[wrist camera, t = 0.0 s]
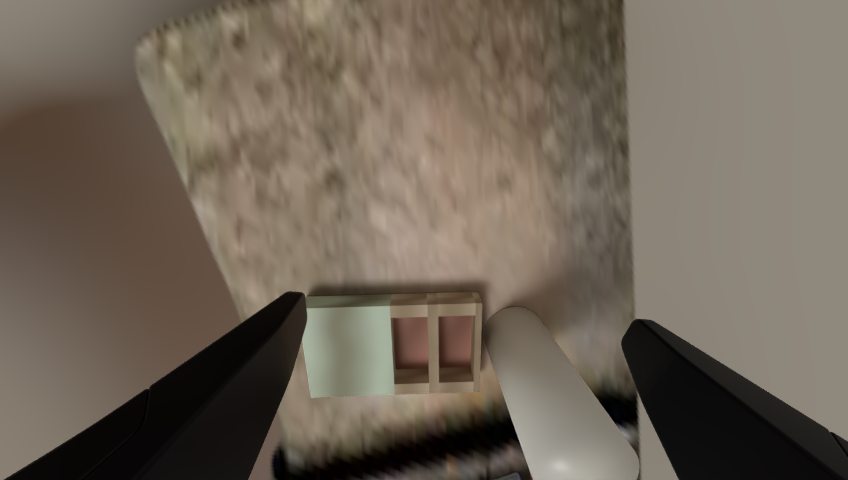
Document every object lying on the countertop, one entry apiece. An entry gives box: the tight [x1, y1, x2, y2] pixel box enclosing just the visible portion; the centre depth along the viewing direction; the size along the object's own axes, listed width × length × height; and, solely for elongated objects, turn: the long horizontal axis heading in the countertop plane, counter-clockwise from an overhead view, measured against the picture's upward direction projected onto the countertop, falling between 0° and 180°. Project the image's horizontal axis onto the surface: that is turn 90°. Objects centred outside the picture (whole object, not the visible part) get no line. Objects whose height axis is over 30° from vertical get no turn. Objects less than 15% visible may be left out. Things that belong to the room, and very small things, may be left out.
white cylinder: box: [484, 307, 639, 480], centre depth 21 cm, size 5×5×12 cm
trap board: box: [302, 291, 482, 397], centre depth 25 cm, size 14×8×2 cm, turn 91°
